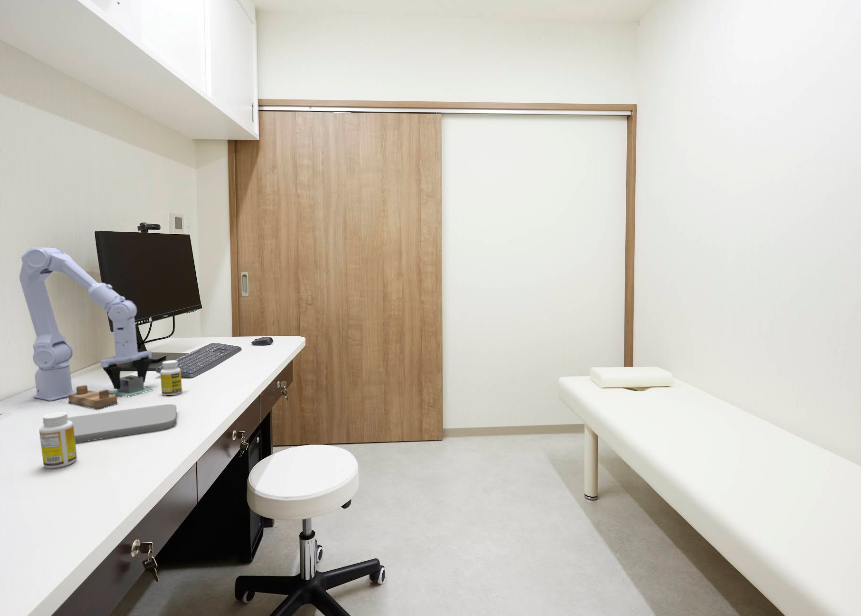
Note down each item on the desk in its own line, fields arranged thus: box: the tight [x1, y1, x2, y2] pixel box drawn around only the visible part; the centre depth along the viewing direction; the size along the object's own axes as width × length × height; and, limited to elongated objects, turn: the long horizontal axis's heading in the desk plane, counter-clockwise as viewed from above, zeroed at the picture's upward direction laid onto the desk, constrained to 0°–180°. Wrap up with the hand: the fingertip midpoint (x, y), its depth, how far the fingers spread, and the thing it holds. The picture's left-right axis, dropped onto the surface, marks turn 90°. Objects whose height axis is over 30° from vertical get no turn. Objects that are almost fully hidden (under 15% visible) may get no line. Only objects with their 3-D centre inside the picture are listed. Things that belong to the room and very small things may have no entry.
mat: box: [109, 387, 153, 398], centre depth 156 cm, size 10×8×1 cm
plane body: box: [68, 384, 119, 410], centre depth 144 cm, size 14×6×4 cm, turn 62°
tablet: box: [68, 403, 177, 444], centre depth 124 cm, size 16×26×2 cm, turn 115°
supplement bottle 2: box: [159, 359, 183, 396], centre depth 152 cm, size 5×5×10 cm
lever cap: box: [116, 374, 145, 394], centre depth 155 cm, size 6×4×5 cm
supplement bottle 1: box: [39, 411, 78, 469], centre depth 103 cm, size 6×6×10 cm
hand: (129, 385), depth 156 cm, fingers open, 7 cm apart
